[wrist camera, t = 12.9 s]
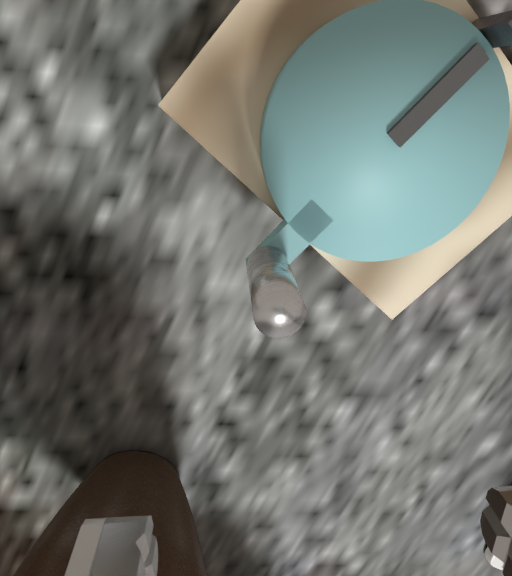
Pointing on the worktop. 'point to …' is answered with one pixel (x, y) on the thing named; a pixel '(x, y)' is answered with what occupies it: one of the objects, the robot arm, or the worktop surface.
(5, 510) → the worktop surface
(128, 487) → the plant pot
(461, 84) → the dial
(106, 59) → the worktop surface
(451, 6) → the dial base
